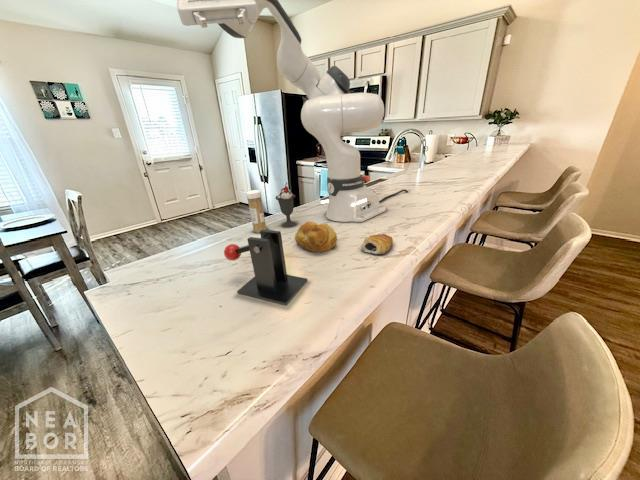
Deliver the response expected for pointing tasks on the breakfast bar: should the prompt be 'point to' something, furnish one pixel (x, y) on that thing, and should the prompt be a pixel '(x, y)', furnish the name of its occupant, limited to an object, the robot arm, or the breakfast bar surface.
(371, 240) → the pastry
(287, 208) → the sundae
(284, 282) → the switch base
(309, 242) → the bread roll
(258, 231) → the sprinkles bottle
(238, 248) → the switch lever
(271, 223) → the breakfast bar surface
